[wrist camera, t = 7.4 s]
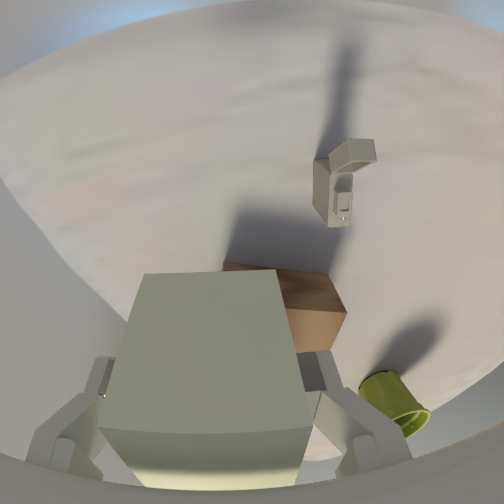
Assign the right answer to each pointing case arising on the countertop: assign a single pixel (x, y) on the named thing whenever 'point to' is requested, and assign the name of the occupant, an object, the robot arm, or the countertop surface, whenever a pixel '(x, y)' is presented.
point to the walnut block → (307, 306)
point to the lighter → (339, 180)
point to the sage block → (208, 385)
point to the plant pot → (394, 401)
